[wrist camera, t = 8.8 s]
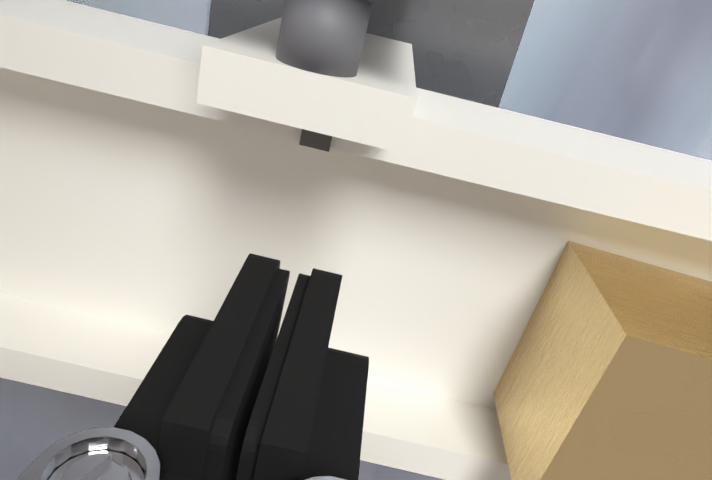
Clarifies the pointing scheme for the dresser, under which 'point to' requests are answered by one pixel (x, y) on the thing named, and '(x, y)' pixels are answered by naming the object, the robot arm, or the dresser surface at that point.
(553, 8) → the dresser surface
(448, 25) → the stand
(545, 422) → the block
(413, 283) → the beam
